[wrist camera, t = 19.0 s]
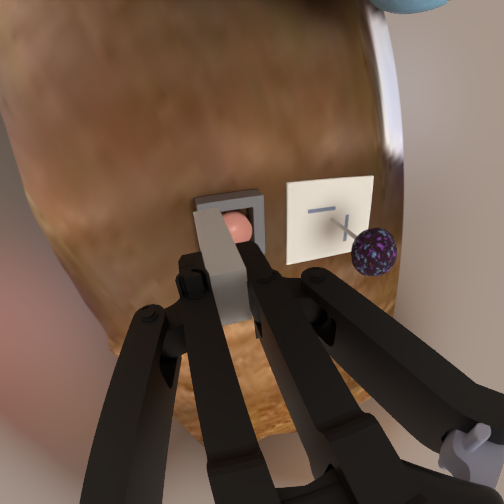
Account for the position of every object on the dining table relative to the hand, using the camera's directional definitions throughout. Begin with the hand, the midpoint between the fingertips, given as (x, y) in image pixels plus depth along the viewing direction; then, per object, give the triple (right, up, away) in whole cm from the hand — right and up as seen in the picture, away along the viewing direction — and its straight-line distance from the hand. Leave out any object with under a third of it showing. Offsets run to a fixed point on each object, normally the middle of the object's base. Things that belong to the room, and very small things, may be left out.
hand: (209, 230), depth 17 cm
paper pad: (+16, +4, +31) cm, 35 cm away
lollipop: (+16, +4, +30) cm, 34 cm away
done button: (-1, +3, +25) cm, 25 cm away
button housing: (-1, +3, +26) cm, 26 cm away
